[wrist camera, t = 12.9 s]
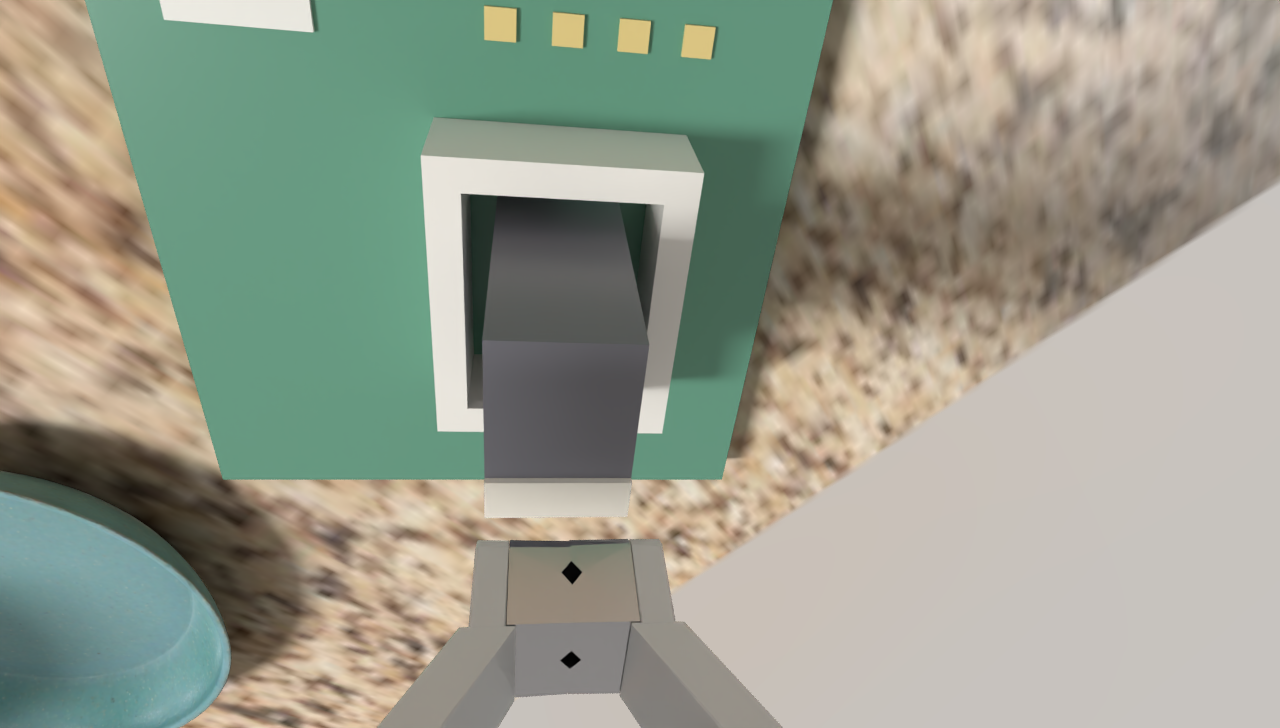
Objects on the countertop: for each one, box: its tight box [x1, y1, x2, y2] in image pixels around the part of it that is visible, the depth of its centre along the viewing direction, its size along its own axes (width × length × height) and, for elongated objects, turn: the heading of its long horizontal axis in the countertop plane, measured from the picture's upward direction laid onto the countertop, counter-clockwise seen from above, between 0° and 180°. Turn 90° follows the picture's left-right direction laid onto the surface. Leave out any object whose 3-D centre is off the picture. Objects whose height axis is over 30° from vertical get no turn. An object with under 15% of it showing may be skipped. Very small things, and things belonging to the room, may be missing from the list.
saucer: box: [0, 471, 231, 728], centre depth 26 cm, size 15×15×3 cm
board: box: [85, 0, 833, 479], centre depth 18 cm, size 20×16×4 cm
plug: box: [482, 196, 649, 518], centre depth 18 cm, size 4×3×7 cm, turn 174°
